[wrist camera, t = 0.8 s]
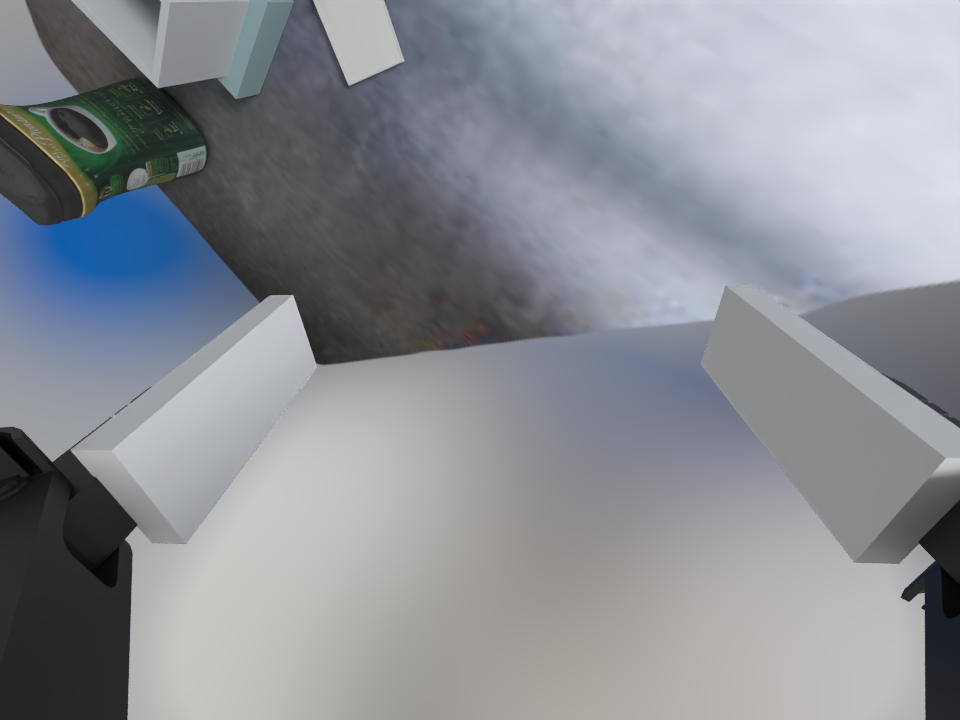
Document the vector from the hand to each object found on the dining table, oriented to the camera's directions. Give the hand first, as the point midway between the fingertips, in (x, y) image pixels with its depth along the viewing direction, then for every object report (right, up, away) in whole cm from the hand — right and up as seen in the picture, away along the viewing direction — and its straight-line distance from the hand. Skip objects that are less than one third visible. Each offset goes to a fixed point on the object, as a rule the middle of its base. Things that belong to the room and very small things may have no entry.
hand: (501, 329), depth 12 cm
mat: (-11, +27, +19) cm, 35 cm away
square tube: (-23, +31, +22) cm, 44 cm away
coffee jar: (-37, +27, +34) cm, 57 cm away
